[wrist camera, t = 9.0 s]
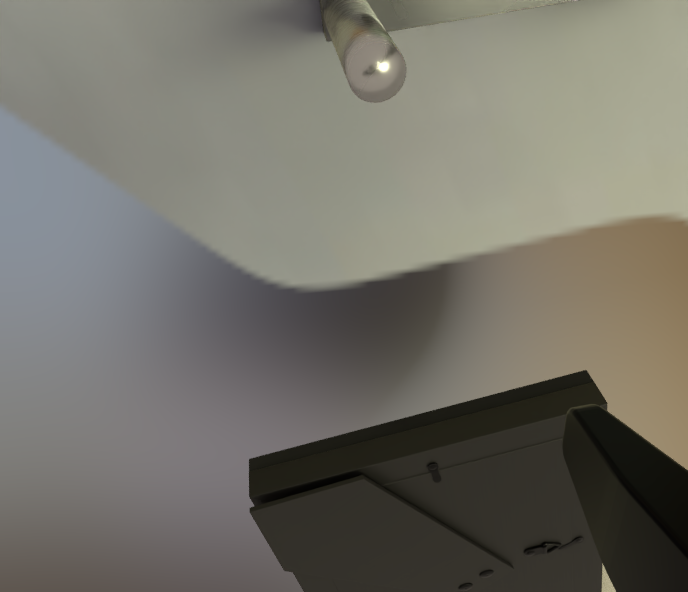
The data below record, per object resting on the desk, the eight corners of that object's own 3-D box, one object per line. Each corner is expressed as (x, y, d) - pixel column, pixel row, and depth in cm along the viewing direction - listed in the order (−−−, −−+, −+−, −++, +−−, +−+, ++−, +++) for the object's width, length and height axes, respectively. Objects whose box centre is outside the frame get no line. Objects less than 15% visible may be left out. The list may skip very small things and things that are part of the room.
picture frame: (248, 458, 29) (351, 648, 42) (249, 512, 27) (357, 695, 40) (586, 369, 28) (586, 589, 41) (615, 416, 26) (606, 633, 39)
